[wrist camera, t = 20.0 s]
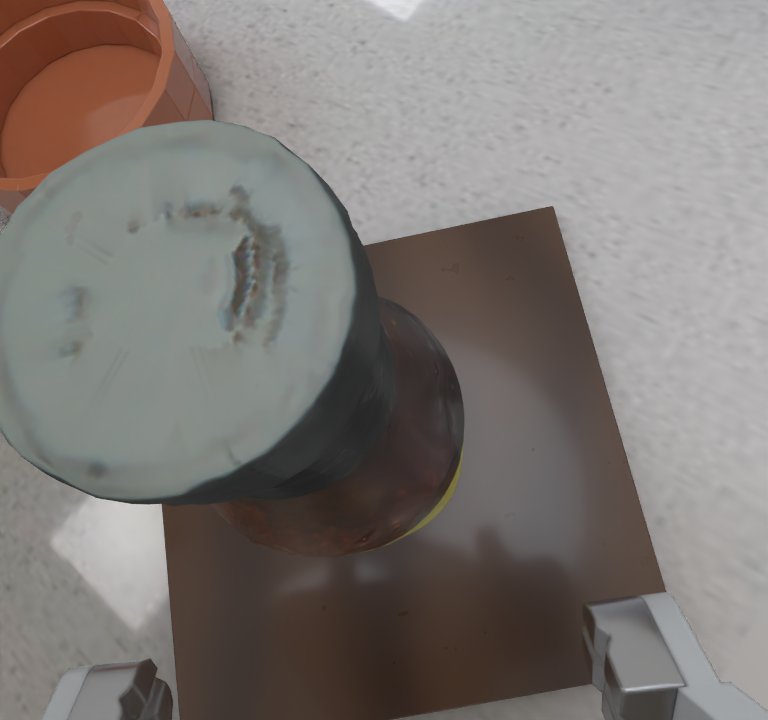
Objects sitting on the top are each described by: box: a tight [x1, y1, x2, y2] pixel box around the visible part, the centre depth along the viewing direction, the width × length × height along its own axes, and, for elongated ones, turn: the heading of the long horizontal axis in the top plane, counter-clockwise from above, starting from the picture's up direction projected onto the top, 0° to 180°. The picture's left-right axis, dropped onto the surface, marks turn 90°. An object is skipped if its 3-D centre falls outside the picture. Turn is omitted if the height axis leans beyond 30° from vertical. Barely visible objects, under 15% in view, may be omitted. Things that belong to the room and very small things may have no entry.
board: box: [162, 206, 666, 720], centre depth 25 cm, size 20×20×1 cm
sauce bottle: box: [0, 120, 465, 557], centre depth 15 cm, size 6×6×20 cm
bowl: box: [0, 0, 213, 219], centre depth 28 cm, size 13×13×5 cm
